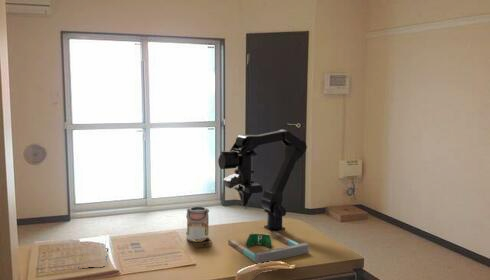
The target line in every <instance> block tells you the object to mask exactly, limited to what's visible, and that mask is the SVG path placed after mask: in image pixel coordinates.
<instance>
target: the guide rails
mask: <svg viewBox="0 0 490 280" xmlns="http://www.w3.org/2000/svg"><path fill="white" fill-rule="evenodd" d="M271 237H274V238H276V239H277V240H279V241H281V242H283V243H284V244H286V245H288V241H289V240H292V239H290V237H287V236H285V235H283V234H281V233H279V232H277V231H271ZM227 241H228V242H227V243H228V245H230V246H231V247H233V248H234V249H236V250H237V251H238V252H239V253H241V254H243V249H247V248H246V247H245V246H243V245H242V244H241V243H239V242H237V241H236V240H234V239H228V240H227Z"/></svg>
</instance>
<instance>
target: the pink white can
mask: <svg viewBox="0 0 490 280" xmlns="http://www.w3.org/2000/svg"><path fill="white" fill-rule="evenodd" d="M209 212H210V209H209V208H206V207H204V206H192V207H188V208H187V209H186V224H187V225H186V229H187V231H186V238H187V240H188V241H189V242H191V241H192V240H193V239H204V238H207V237H208V238H209Z"/></svg>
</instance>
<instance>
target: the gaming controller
mask: <svg viewBox="0 0 490 280" xmlns="http://www.w3.org/2000/svg"><path fill="white" fill-rule="evenodd" d="M248 235H249V236H248V237H247V239H246V244H245V246H246V247H247V248H248V247H249V248H250V247H251V246H252V245H253V244H254V245H257V244H258V245H266V246H265V247H267V248H268V249H270V248H272V239H271V236H270V234H269V233H268V232H265V234H263V233H261V234H260V233H254V232H253V231H252V232H250V234H248Z"/></svg>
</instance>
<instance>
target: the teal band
mask: <svg viewBox="0 0 490 280" xmlns="http://www.w3.org/2000/svg"><path fill="white" fill-rule="evenodd" d="M297 244H299V242H296V241H294V240H292V239H291V240H289V241H288V244H287V246H288V245H289V246H292V245H297ZM242 254H243V255H244V256H246V257H247V258H248V259H250V260H252V261H253V262H255V253H254V252H252V251H251V250H249V249H248V248H246V249H243V253H242Z"/></svg>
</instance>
